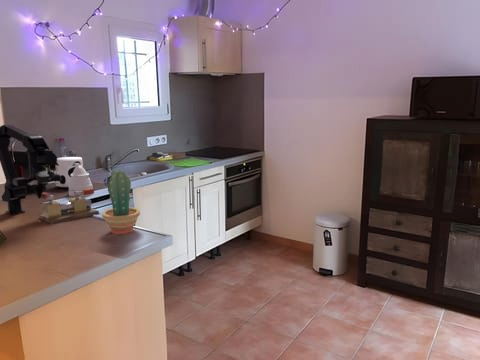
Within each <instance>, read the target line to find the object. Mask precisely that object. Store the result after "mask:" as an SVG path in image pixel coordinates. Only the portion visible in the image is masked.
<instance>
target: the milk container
mask: <svg viewBox="0 0 480 360" xmlns="http://www.w3.org/2000/svg"><path fill="white" fill-rule="evenodd" d="M77 163H78V164H79V165H80V166H82V167H83V168H84V164H83V163H84V162H83V158H82V157H80V156H64V157H57V162H56V164H55V174H58V175H60V176H61V181H56V182H55V181H54V183H55V185H56V187H57V188H60V189H69V187H68V186H69V183H70V180H71V176H70V175H71V174H73V171H74V169H75V168H76V166H75V164H77Z"/></svg>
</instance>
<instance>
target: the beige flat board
mask: <svg viewBox="0 0 480 360" xmlns="http://www.w3.org/2000/svg"><path fill="white" fill-rule="evenodd" d="M99 214H100V211H99V210H97V209H94V208H92V207H91V210H87V211H85V212H80V213H73V212H70V211H68V214H66V215H62V214H61V216H60V217H55V218H50V219H48V218H46V217H43V213H42V214H38V217H39V219H41V220H43V221H44V222H47V223H50V224H51V225H54V224H58V223H63V222H67V220H68V221H72V219H73V220H76V219H82V218H86V217H90V216H91V217H92V216H96V215H99Z"/></svg>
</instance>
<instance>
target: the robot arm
mask: <svg viewBox="0 0 480 360" xmlns="http://www.w3.org/2000/svg"><path fill="white" fill-rule="evenodd" d="M11 138H13V139H15V140H17V141H19V142H21V143H22V147H25V148H26V149H27V150H26V151H25V154H27V156H28V169H29V175H28V176H29V177H28V178H25V177H23V176H22V177H19V175H18V174H17V170H16V167H15V165H14V161H13V158H12V155H11V152H10V149H9V147H10V146H11V145H10V144H11ZM57 158H58V157H57V155H56V153H54V152H53V150H52V149H50V147H49V145H48V143H47V142H46V141H45V139H44V137H43V136H42V135H39V134H32V133H29V132H26V131H24V130H22V129H20V128H17V127H16V126H14V125H13V124H2V125H0V165H1V168H2V172H3V174H4V178H5V183H4V192H3V194H1V200H2V201H3V202H5V203H6V202H7V203H6V204H7V210H6V211H5V213H6V214H8V215H9V216H10V215H16V214H21V213H22V214H23V213H26V211H25V210H24V209H23V203H22V200H23V199H26V198H27V193H28V189H27V185H28V186H30V187H31V189H32V190H33V192H34V193H35V195H36V196H37V199H39V200H40V199H42V198H41V195H42V193H43V191H44V188H45V187H46V186H47V185H48V184H49V182H50V181H53V182H54V183H55V182H56V181H61V176H60V175H58V174H56V173H55V171H53V170H51V169H50V170H46V166H49V167H53V166H56V162H57Z"/></svg>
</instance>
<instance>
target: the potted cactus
mask: <svg viewBox="0 0 480 360" xmlns="http://www.w3.org/2000/svg"><path fill="white" fill-rule="evenodd" d="M131 183H132V181H131V179H130V177H129V176H128V174H127V173H126V171H124V170H123V169H122V170H112V172H110V173H107V174H106V175H105V177H103V180H102V186H103V189H106V188H107V192H108V194H109V196H110V197H111V200H110V202H111V201H112V202H111V207H112V208H107V209H106V210H103V211H101V217H102V219H104V221H105V223H106V225H107V226H108V228H109V229H111V230H110V232H111V233H112V234H116V235H123V234H124V233H125V234H128V233H132V231H134V226H135V225H136V223H137V221H138V218H139V216H140V215H141V209H139V208H136V207H130V201H129V196H130V194H131V188H132V184H131Z"/></svg>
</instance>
